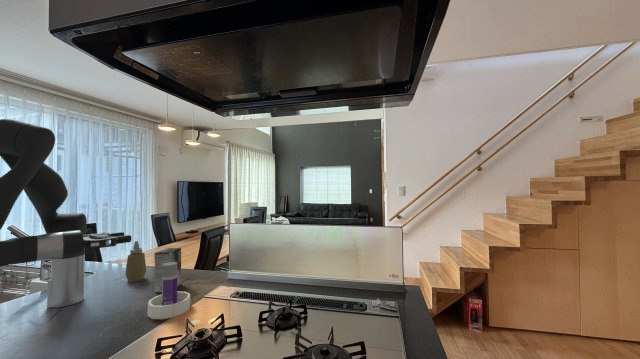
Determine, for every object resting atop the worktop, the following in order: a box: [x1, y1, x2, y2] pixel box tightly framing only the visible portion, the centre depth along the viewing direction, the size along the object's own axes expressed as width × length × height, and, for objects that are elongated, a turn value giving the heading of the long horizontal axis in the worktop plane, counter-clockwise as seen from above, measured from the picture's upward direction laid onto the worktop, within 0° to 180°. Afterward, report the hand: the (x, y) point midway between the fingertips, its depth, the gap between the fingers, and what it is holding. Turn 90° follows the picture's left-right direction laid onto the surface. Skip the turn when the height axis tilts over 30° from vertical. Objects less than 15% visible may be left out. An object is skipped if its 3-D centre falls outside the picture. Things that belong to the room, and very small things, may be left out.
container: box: [161, 262, 178, 306], centre depth 92 cm, size 5×5×15 cm
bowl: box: [147, 290, 191, 320], centre depth 92 cm, size 13×13×4 cm
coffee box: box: [154, 247, 182, 293], centre depth 113 cm, size 9×6×16 cm
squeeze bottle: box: [124, 240, 147, 283], centre depth 123 cm, size 8×8×18 cm
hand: (127, 236), depth 89 cm, fingers open, 8 cm apart
